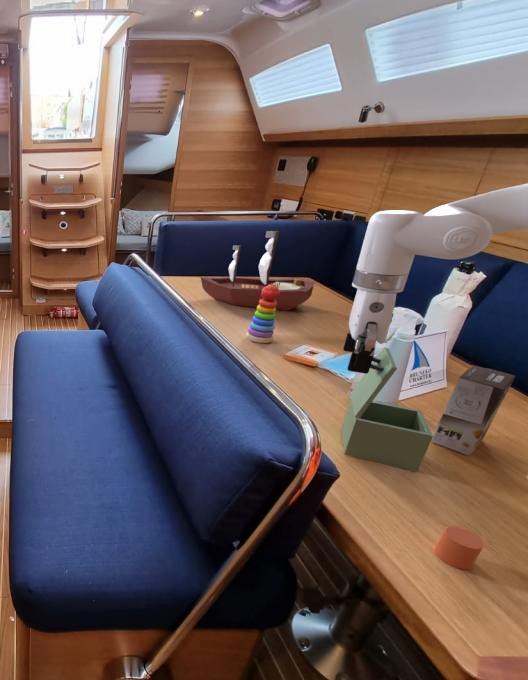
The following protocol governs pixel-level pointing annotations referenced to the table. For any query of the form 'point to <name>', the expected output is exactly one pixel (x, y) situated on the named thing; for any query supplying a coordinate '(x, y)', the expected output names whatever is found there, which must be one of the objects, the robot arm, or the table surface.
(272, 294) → the stacking toy
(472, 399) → the coffee box
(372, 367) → the green box lid
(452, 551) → the cylinder
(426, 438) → the green hollow box
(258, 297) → the sailing ship
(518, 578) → the table surface
